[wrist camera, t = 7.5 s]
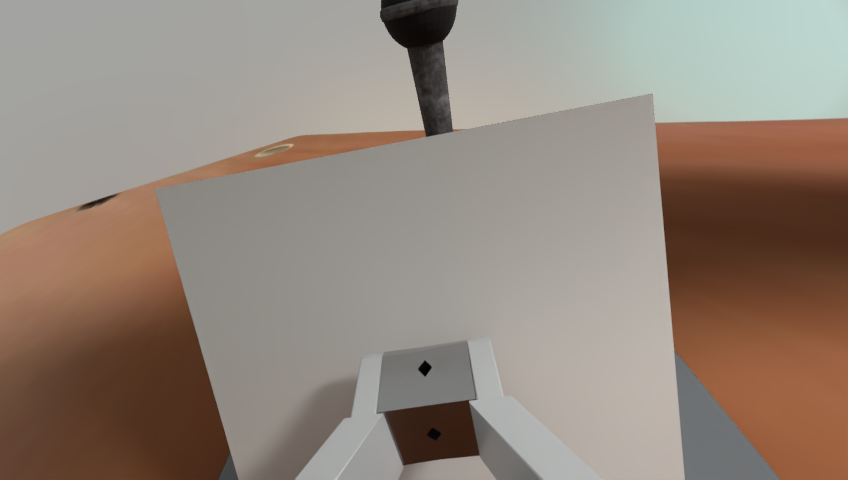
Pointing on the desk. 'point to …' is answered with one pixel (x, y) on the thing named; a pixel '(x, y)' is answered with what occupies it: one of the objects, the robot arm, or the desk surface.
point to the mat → (692, 437)
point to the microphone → (425, 53)
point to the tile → (442, 285)
